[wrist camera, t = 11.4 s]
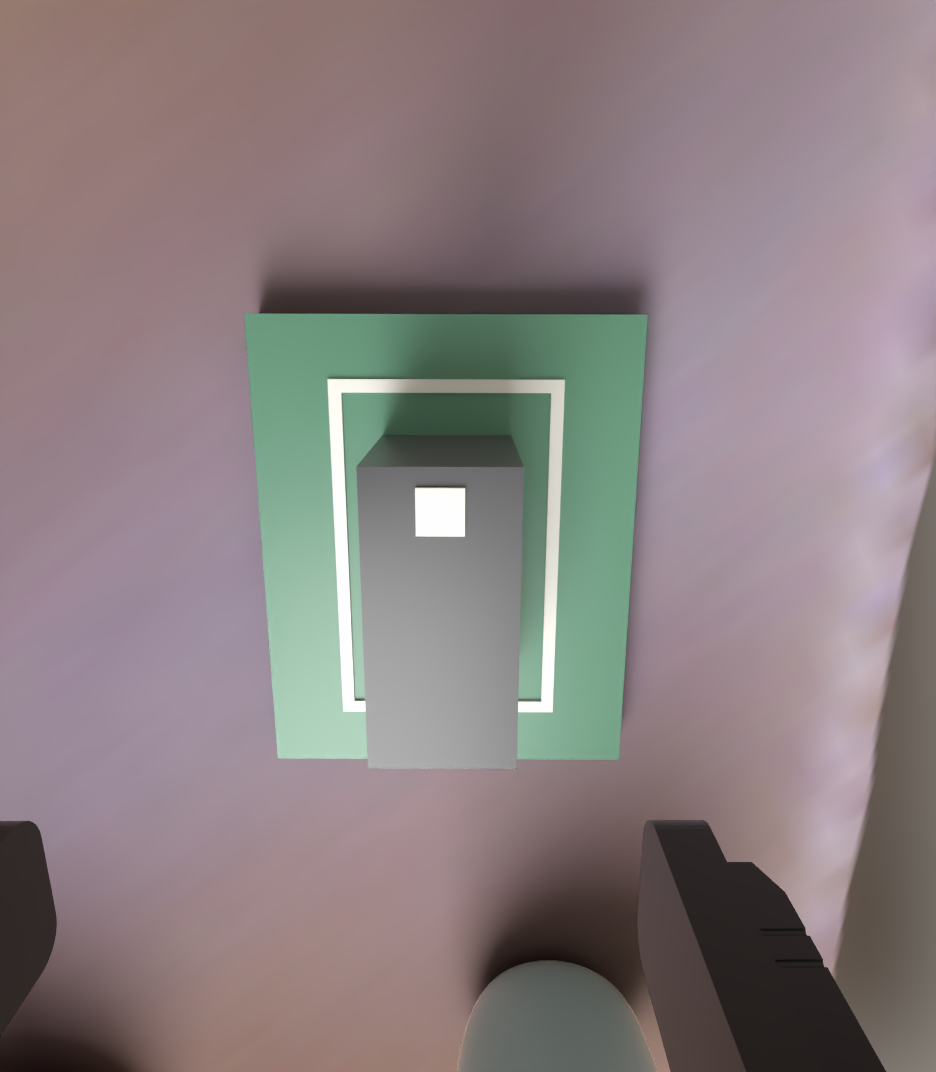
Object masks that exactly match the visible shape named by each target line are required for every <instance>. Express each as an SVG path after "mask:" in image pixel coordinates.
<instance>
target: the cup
mask: <svg viewBox="0 0 936 1072" xmlns="http://www.w3.org/2000/svg"><path fill="white" fill-rule="evenodd" d="M456 1072H659V1071H658V1068H657V1065H656V1062H655V1059H654V1057H653V1054H652V1052H651V1049H650V1047H649V1044H648V1042H647V1039H646V1037H645V1034H644V1032H643V1029H642V1027H641V1025H640V1023H639V1021H638V1019H637V1017H636V1015H635V1013H634V1011H633V1010H632V1008H631V1007H630V1005H629V1004H628V1002H627V1001H626V999H625V998H624V997H623V995H622V994H621V993H620V991H619V990H618V989H617V988H616V987H615V986H614V985H613V984H612V983H610V982H609V981H608V980H607V979H605V978H604V977H603V976H602V975H600V974H598V973H596V972H594V971H592V970H590V969H588V968H586V967H584V966H581V965H577V964H574V963H571V962H565V961H558V960H539V961H532V962H526V963H523V964H520V965H516V966H514V967H512V968H510V969H508V970H506V971H504V972H503V973H501V974H500V975H498V976H497V977H496V978H495V979H494V980H492V981H491V982H490V983H489V984H488V985H487V987H486V988H485V989H484V991H483V992H482V993H481V995H480V996H479V998H478V999H477V1001H476V1003H475V1005H474V1007H473V1009H472V1011H471V1013H470V1016H469V1019H468V1021H467V1024H466V1026H465V1030H464V1035H463V1039H462V1043H461V1048H460V1052H459V1057H458V1063H457V1069H456Z"/></svg>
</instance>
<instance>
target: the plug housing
mask: <svg viewBox="0 0 936 1072" xmlns="http://www.w3.org/2000/svg"><path fill="white" fill-rule="evenodd" d="M356 472H357V498H358V525H359V551H360V577H361V603H362V629H363V656H364V682H365V708H366V734H367V760H368V768H407V769H517V737H518V695H519V652H520V609H521V567H522V524H523V482H524V466H523V464H522V461H521V459H520V456H519V453H518V451H517V448H516V446H515V443H514V441H513V438H512V435H382V436H381V438H380V439H379V440H378V441H377V442H376V444H375V445H374V446H373V447H372V448H371V450H370V451H369V452H368V453H367V454H366V456H365V457H364V458H363V459H362V460H361V462H360V463H359V464H358V465H357V466H356Z"/></svg>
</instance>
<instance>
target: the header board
mask: <svg viewBox="0 0 936 1072" xmlns="http://www.w3.org/2000/svg"><path fill="white" fill-rule="evenodd" d="M244 316H245V330H246V343H247V356H248V369H249V383H250V396H251V409H252V422H253V436H254V449H255V462H256V475H257V489H258V502H259V515H260V529H261V542H262V555H263V568H264V582H265V595H266V608H267V621H268V635H269V648H270V661H271V674H272V688H273V701H274V714H275V727H276V741H277V754H278V758H318V759H367V734H366V708H365V682H364V656H363V629H362V603H361V577H360V551H359V525H358V498H357V472H356V466H357V465H358V464H359V463H360V462H361V460H362V459H363V458H364V457H365V456H366V454H367V453H368V452H369V451H370V450H371V448H372V447H373V446H374V445H375V444H376V442H377V441H378V440H379V439H380V438H381V436H382V435H512V438H513V441H514V443H515V446H516V448H517V451H518V453H519V456H520V459H521V461H522V464H523V466H524V482H523V524H522V567H521V609H520V652H519V695H518V737H517V759H554V760H619V749H620V733H621V718H622V703H623V687H624V672H625V657H626V641H627V626H628V611H629V595H630V580H631V565H632V549H633V534H634V519H635V503H636V488H637V473H638V457H639V442H640V427H641V411H642V396H643V381H644V365H645V350H646V335H647V319H648V315H597V314H244Z"/></svg>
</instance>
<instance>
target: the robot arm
mask: <svg viewBox="0 0 936 1072" xmlns="http://www.w3.org/2000/svg"><path fill="white" fill-rule="evenodd" d="M56 926H57V921H56V912H55V906H54V901H53V896H52V890H51V885H50V880H49V875H48V869H47V864H46V859H45V853H44V848H43V843H42V838H41V834H40V831H39V829H38V827H37V826H36V824H34V823H33V822H30V821H0V1036H1V1034H2V1033H3V1031H4V1030H5V1028H6V1027H7V1025H8V1024H9V1022H10V1021H11V1019H12V1018H13V1016H14V1015H15V1013H16V1011H17V1010H18V1008H19V1007H20V1005H21V1004H22V1002H23V1001H24V999H25V998H26V996H27V995H28V993H29V992H30V990H31V989H32V987H33V986H34V984H35V983H36V981H37V980H38V978H39V976H40V975H41V973H42V972H43V970H44V968H45V966H46V964H47V962H48V960H49V957H50V955H51V952H52V949H53V945H54V941H55V935H56ZM637 927H638V942H639V951H640V957H641V963H642V968H643V972H644V976H645V979H646V983H647V987H648V990H649V994H650V998H651V1001H652V1005H653V1008H654V1012H655V1016H656V1019H657V1023H658V1027H659V1030H660V1034H661V1038H662V1041H663V1045H664V1049H665V1052H666V1056H667V1060H668V1063H669V1067H670V1070H671V1072H886V1071H885V1069H884V1067H883V1065H882V1064H881V1062H880V1060H879V1058H878V1056H877V1055H876V1053H875V1051H874V1049H873V1048H872V1046H871V1044H870V1042H869V1040H868V1039H867V1037H866V1035H865V1033H864V1032H863V1030H862V1028H861V1026H860V1025H859V1023H858V1021H857V1019H856V1017H855V1016H854V1014H853V1012H852V1010H851V1009H850V1007H849V1005H848V1003H847V1001H846V1000H845V998H844V996H843V994H842V993H841V991H840V989H839V987H838V985H837V984H836V982H835V980H834V978H833V977H832V975H831V973H830V971H829V969H828V968H827V967H824V965H823V959H822V957H821V955H820V953H819V952H818V950H817V948H816V946H815V945H814V943H813V941H812V939H811V937H810V936H807V935H806V931H805V927H804V925H803V923H802V922H801V920H800V918H799V916H798V914H797V913H796V911H795V909H794V907H793V906H792V904H791V902H790V900H789V898H788V897H787V895H786V893H785V892H784V891H783V890H782V889H781V888H780V887H779V886H778V885H776V884H775V883H774V882H773V881H772V880H771V879H770V878H769V877H768V876H766V875H765V874H764V873H763V872H762V871H761V870H760V869H759V868H758V867H756V866H755V865H754V864H753V863H752V862H727V861H726V859H725V857H724V855H723V853H722V851H721V849H720V847H719V845H718V842H717V840H716V838H715V836H714V834H713V832H712V830H711V828H710V826H709V825H708V823H707V822H706V821H704V820H648V821H647V822H646V824H645V827H644V834H643V846H642V860H641V874H640V887H639V901H638V916H637Z"/></svg>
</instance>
